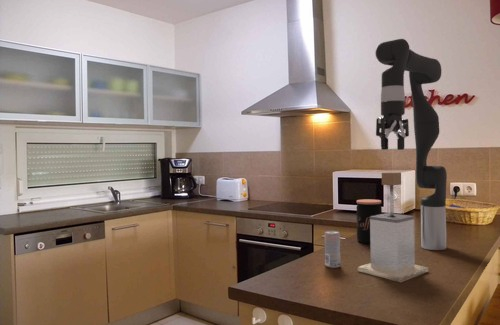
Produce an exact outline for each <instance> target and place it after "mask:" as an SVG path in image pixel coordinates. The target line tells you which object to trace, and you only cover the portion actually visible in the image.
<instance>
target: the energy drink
mask: <svg viewBox="0 0 500 325" xmlns="http://www.w3.org/2000/svg"><path fill="white" fill-rule="evenodd" d="M324 265H325V267H326V268H332V269H333V268H339V267H341V233H340V231H338V230H326V231H325V232H324Z"/></svg>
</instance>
